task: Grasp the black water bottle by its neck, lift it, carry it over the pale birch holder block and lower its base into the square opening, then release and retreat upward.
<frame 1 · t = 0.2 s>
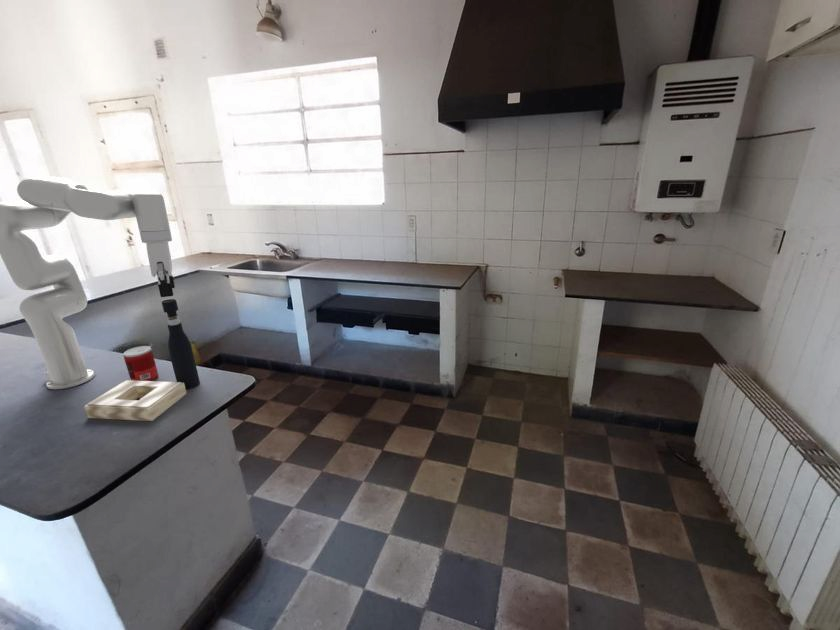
hand: (168, 292, 118), 33 cm above the countertop, fingers open, 9 cm apart
canned food: (145, 379, 134), on the countertop
holder block: (140, 405, 118), on the countertop
black water bottle: (189, 385, 129), on the countertop
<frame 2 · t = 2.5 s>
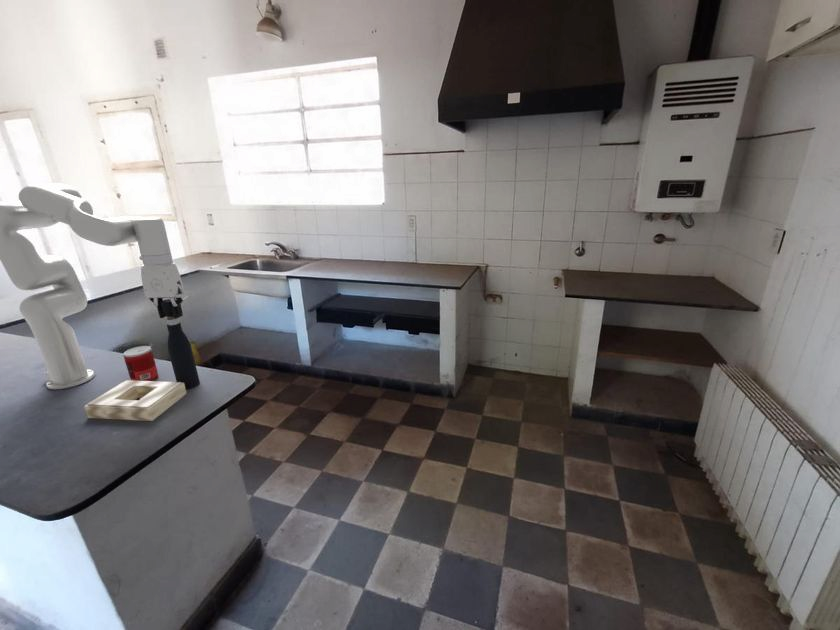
hand: (171, 316, 121), 25 cm above the countertop, fingers closed on black water bottle, 4 cm apart
black water bottle: (189, 385, 129), on the countertop, touching gripper
everything else where it was.
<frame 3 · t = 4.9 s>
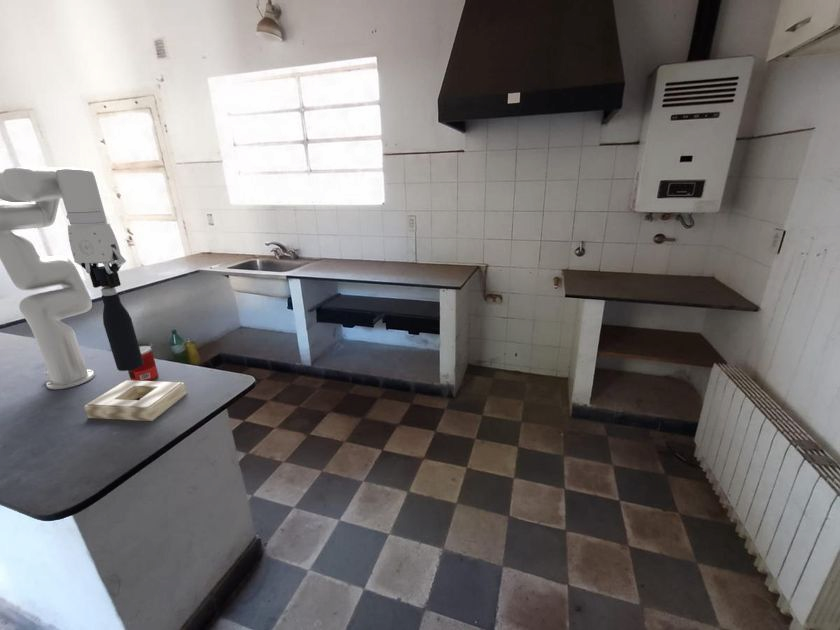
hand: (107, 285, 106), 38 cm above the countertop, fingers closed on black water bottle, 3 cm apart
black water bottle: (130, 366, 114), point 13 cm above the countertop, touching gripper
everything else where it was.
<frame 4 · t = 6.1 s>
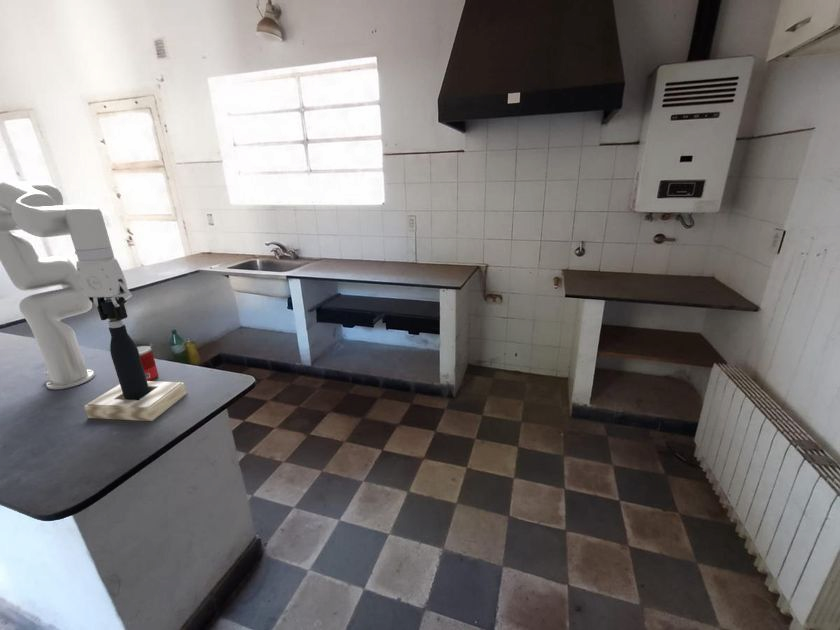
hand: (114, 318, 108), 29 cm above the countertop, fingers closed on black water bottle, 3 cm apart
black water bottle: (137, 394, 117), point 4 cm above the countertop, touching gripper
everything else where it was.
when the fingers open (26 cm above the countertop, at t = 7.1 s): black water bottle drops 1 cm, resting in holder block.
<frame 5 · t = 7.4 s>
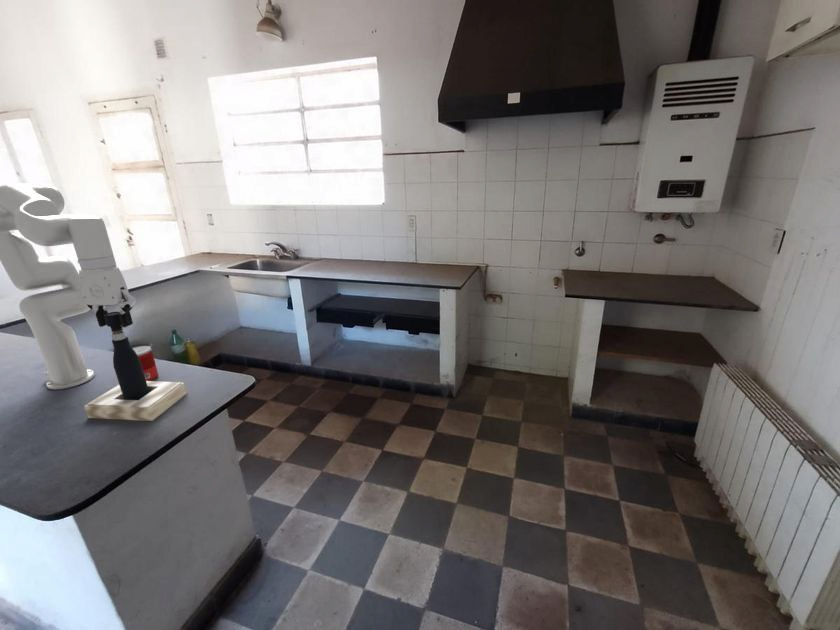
hand: (116, 324, 109), 27 cm above the countertop, fingers open, 6 cm apart
black water bottle: (139, 405, 118), resting in holder block
everything else where it was.
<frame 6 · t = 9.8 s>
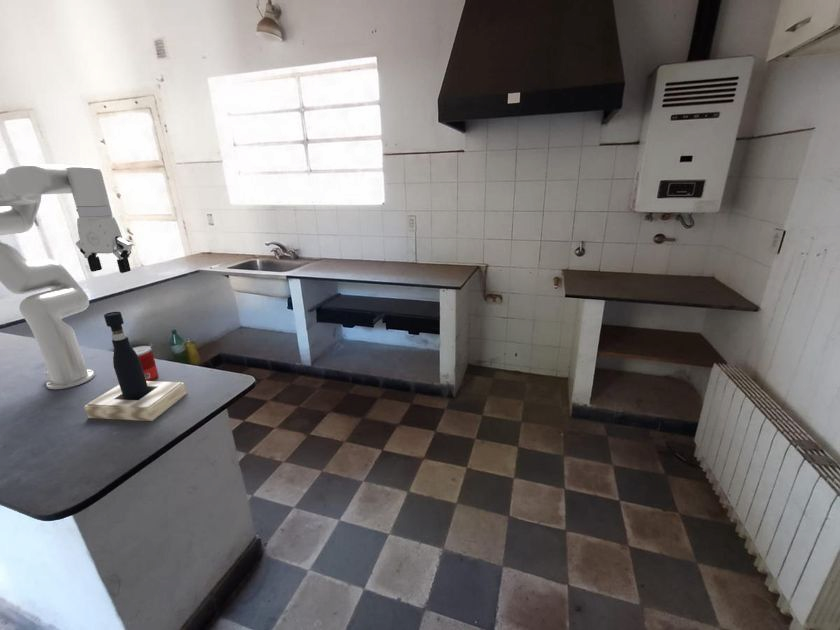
hand: (111, 271, 115), 40 cm above the countertop, fingers open, 9 cm apart
nothing on the countertop moved.
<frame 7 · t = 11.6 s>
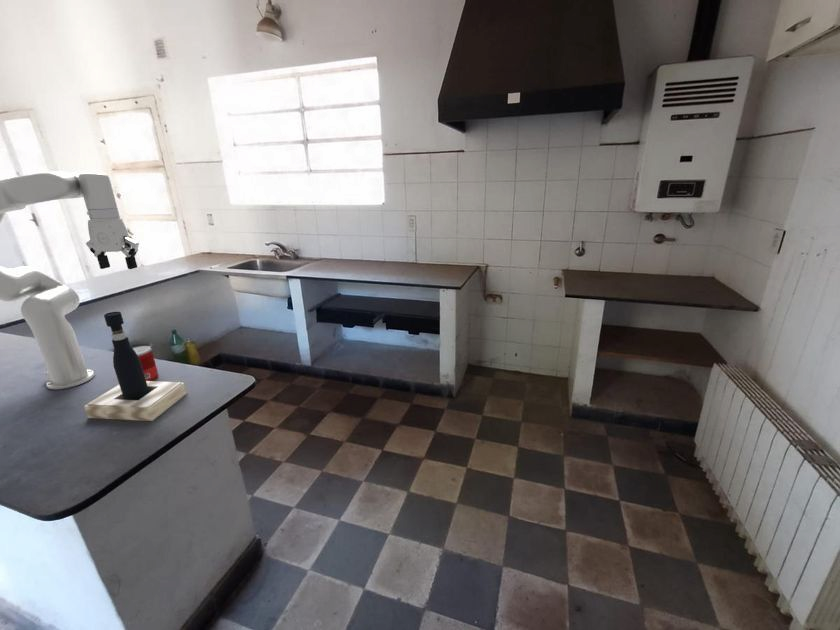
hand: (119, 268, 126), 38 cm above the countertop, fingers open, 9 cm apart
nothing on the countertop moved.
at the end: black water bottle 0.2 cm off-centre on the holder block, point 0.0 cm above the holder block's base; black water bottle tilted 0°; the gripper is holding nothing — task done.
